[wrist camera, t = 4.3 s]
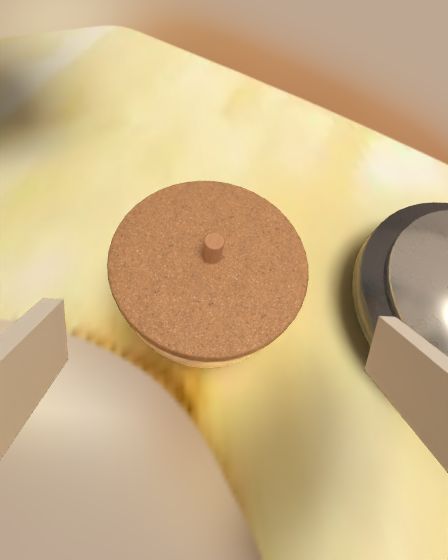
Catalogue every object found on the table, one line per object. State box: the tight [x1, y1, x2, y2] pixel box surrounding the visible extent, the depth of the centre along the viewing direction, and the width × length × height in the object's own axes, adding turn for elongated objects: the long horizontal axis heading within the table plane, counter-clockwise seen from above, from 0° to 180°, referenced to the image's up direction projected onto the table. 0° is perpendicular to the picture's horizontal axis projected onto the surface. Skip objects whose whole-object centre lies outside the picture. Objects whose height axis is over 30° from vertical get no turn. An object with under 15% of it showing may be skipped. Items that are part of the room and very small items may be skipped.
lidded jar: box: [107, 181, 308, 368], centre depth 20 cm, size 11×11×9 cm
